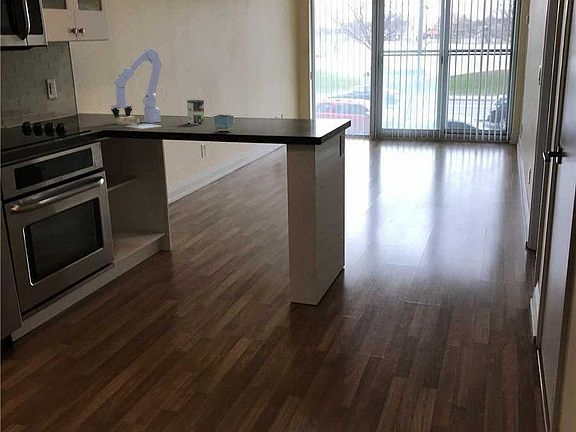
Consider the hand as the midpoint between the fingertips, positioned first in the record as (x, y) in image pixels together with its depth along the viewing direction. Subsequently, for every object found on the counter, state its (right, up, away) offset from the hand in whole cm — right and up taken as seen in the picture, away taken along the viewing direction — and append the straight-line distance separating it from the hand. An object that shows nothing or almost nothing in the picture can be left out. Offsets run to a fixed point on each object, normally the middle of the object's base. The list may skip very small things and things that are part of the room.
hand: (122, 120), depth 368 cm
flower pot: (+65, -11, -28) cm, 72 cm away
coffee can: (+44, -2, +4) cm, 45 cm away
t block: (+6, -3, -4) cm, 8 cm away
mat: (+16, -5, -11) cm, 20 cm away
